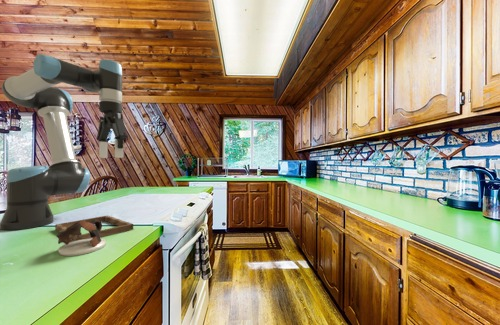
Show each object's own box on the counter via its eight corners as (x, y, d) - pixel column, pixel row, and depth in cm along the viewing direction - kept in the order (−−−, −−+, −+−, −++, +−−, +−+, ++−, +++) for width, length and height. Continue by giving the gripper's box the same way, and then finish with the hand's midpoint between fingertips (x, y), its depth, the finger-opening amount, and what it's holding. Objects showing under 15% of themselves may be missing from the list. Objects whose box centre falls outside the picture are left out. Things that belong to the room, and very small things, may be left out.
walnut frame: (55, 229, 83) (55, 224, 83) (107, 220, 97) (107, 215, 97) (76, 243, 70) (76, 236, 70) (133, 229, 84) (133, 224, 84)
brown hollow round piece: (89, 253, 61) (70, 228, 59) (63, 265, 62) (43, 242, 61) (116, 228, 73) (101, 207, 71) (93, 240, 74) (78, 219, 72)
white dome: (53, 249, 65) (53, 246, 65) (97, 238, 73) (97, 235, 73) (65, 259, 58) (65, 255, 58) (112, 246, 67) (112, 243, 67)
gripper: (87, 105, 91) (87, 157, 91) (115, 94, 76) (115, 157, 76) (107, 108, 97) (107, 158, 97) (137, 99, 82) (137, 157, 82)
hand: (110, 157), depth 86 cm, fingers open, 13 cm apart
